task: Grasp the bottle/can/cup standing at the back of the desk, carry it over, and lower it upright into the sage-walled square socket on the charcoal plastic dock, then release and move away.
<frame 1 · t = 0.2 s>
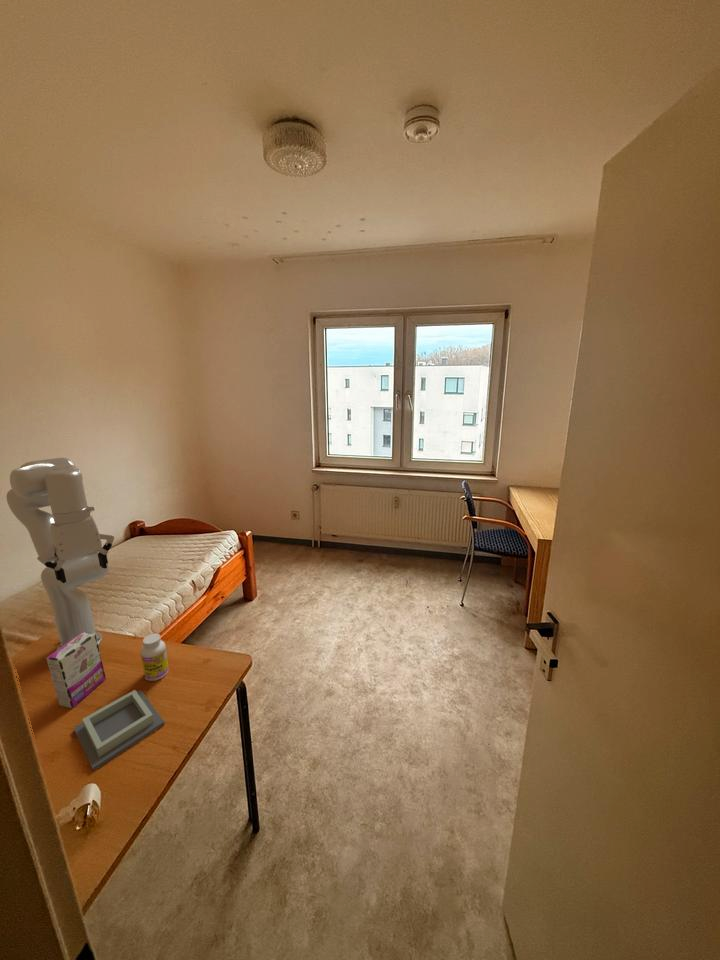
hand: (84, 573, 102), 36 cm above the table, tool pointing down, fingers open, 9 cm apart
dock: (119, 727, 97), on the table
supplement bottle: (157, 674, 115), on the table
candy bar box: (83, 692, 108), on the table
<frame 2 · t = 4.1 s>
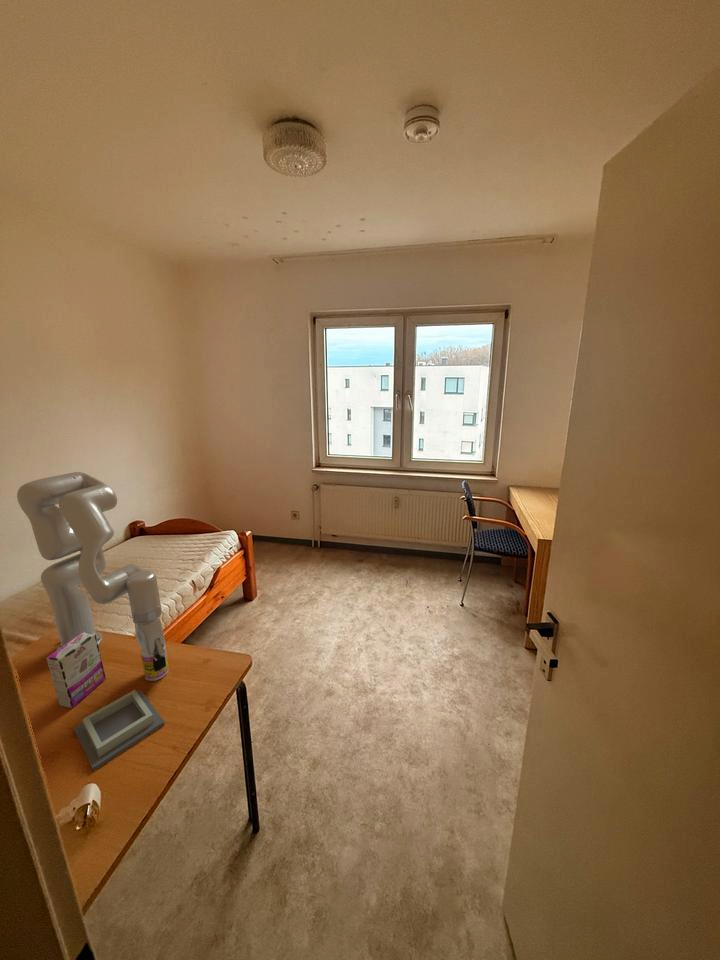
hand: (155, 662, 114), 4 cm above the table, tool pointing down, fingers closed on supplement bottle, 6 cm apart
supplement bottle: (157, 674, 115), on the table, touching gripper
everything else where it was.
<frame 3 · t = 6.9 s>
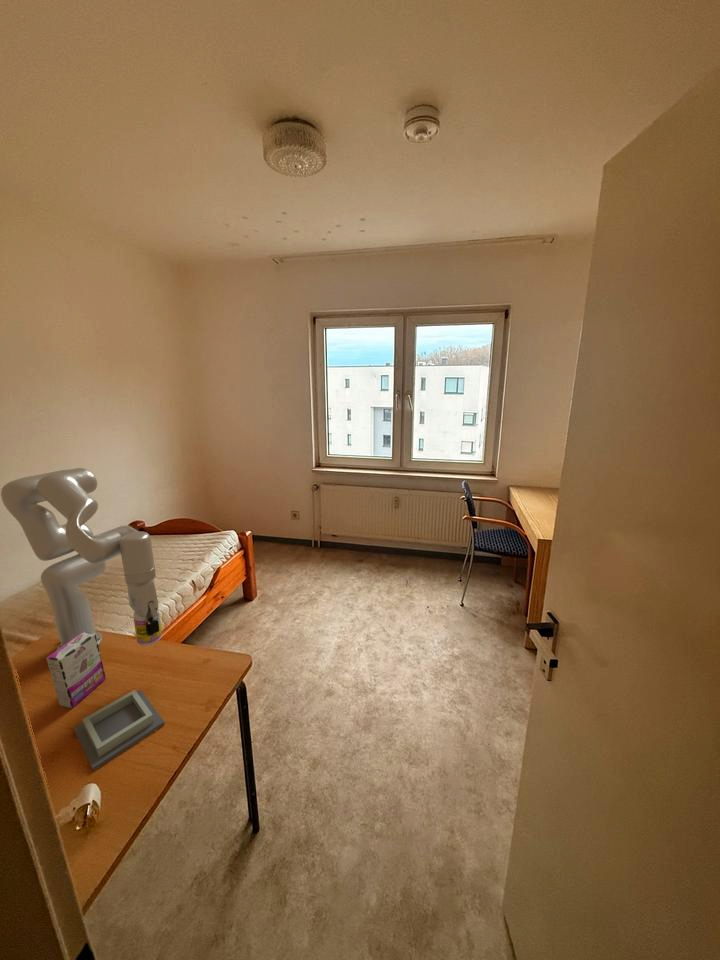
hand: (148, 627, 111), 17 cm above the table, tool pointing down, fingers closed on supplement bottle, 6 cm apart
supplement bottle: (150, 639, 112), point 12 cm above the table, touching gripper
everything else where it was.
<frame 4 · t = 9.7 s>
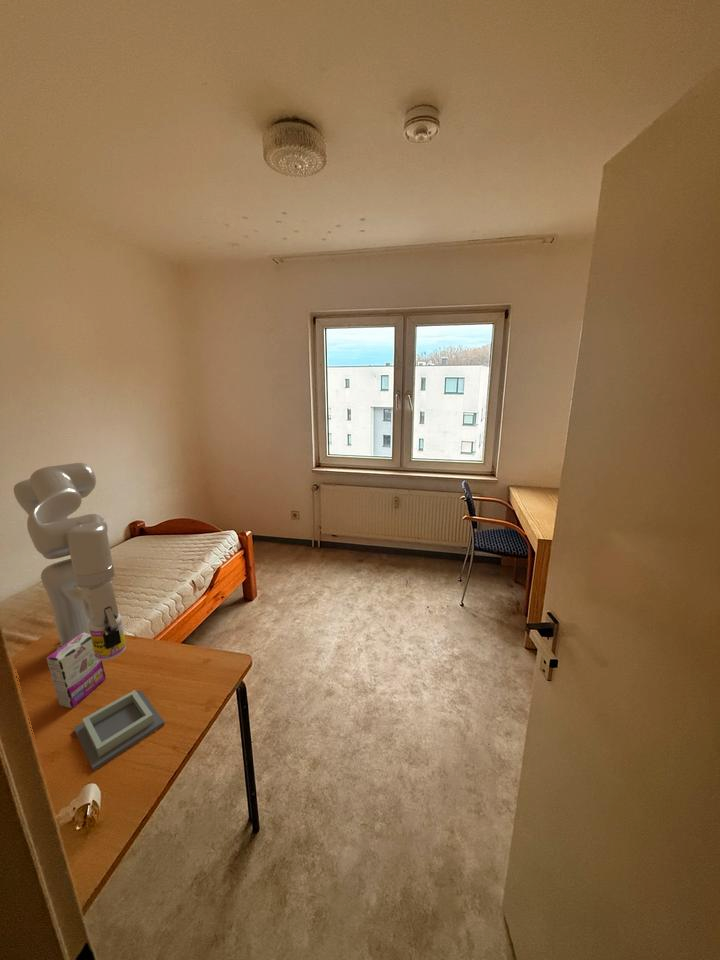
hand: (108, 638, 92), 26 cm above the table, tool pointing down, fingers closed on supplement bottle, 6 cm apart
supplement bottle: (111, 653, 93), point 21 cm above the table, touching gripper
everything else where it was.
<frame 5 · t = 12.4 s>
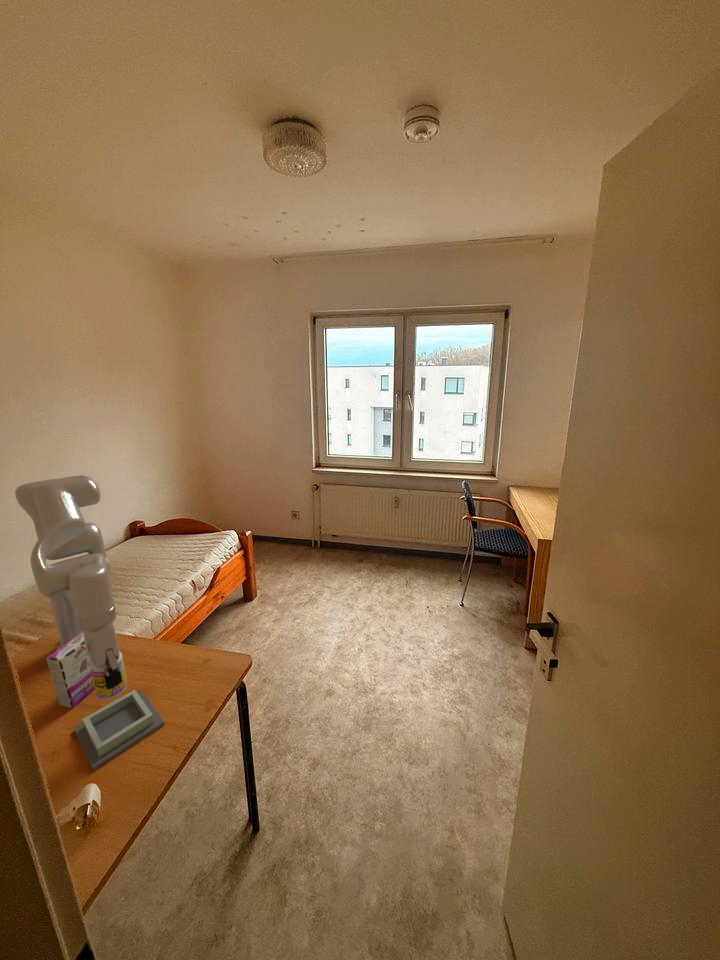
hand: (109, 677, 93), 16 cm above the table, tool pointing down, fingers closed on supplement bottle, 6 cm apart
supplement bottle: (112, 691, 94), point 12 cm above the table, touching gripper
everything else where it was.
when the fingers open (6 cm above the table, at t = 15.1 s): supplement bottle drops 1 cm, resting on dock.
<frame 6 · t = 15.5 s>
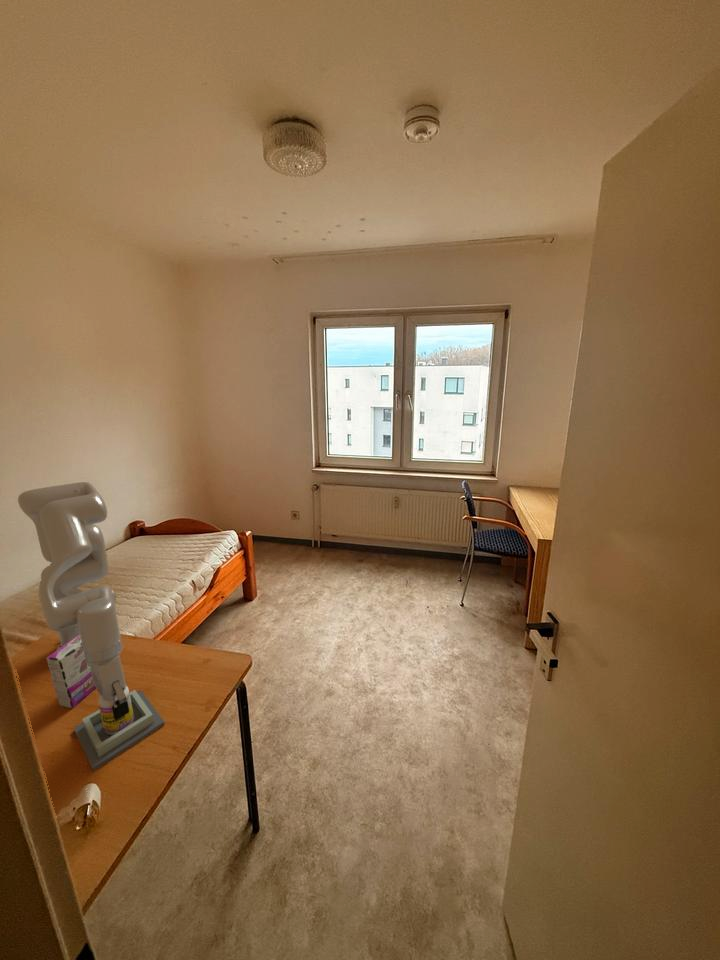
hand: (115, 705, 95), 7 cm above the table, tool pointing down, fingers open, 9 cm apart
supplement bottle: (119, 725, 97), point 1 cm above the table, touching dock
everything else where it was.
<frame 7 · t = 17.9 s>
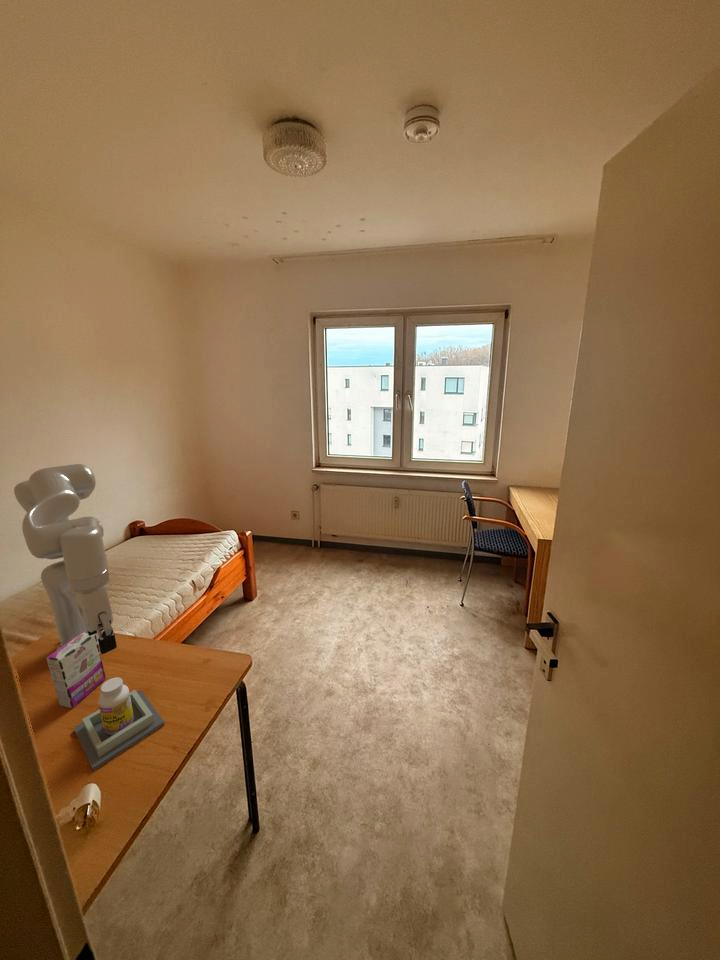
hand: (102, 641, 90), 26 cm above the table, tool pointing down, fingers open, 9 cm apart
nothing on the table moved.
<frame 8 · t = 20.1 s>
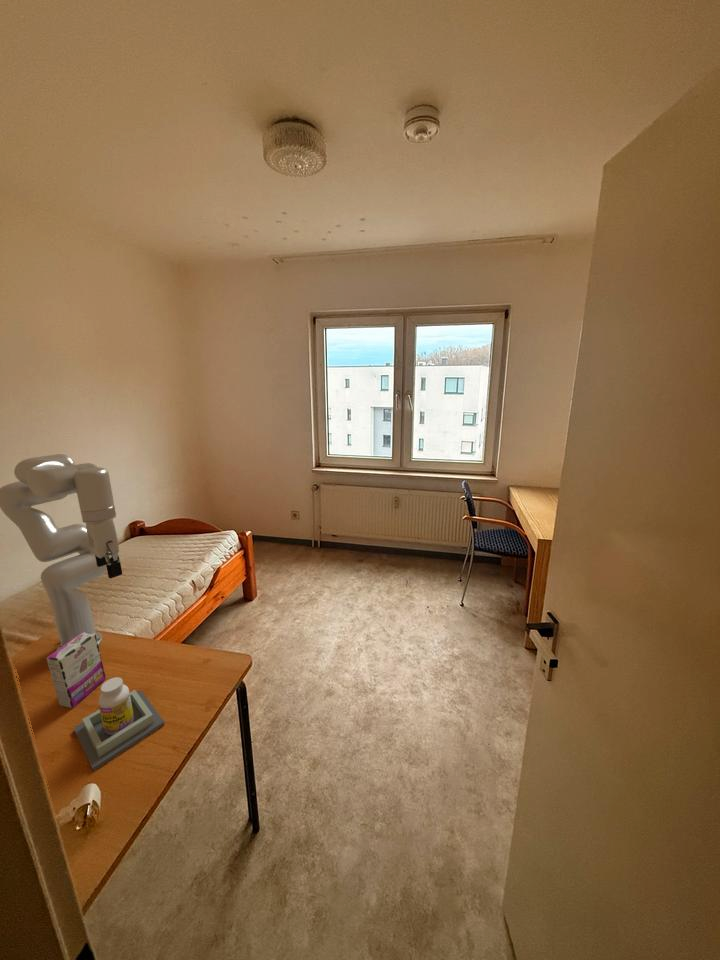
hand: (109, 570, 104), 36 cm above the table, tool pointing down, fingers open, 9 cm apart
nothing on the table moved.
at the end: supplement bottle 0.1 cm off-centre on the dock, point 0.8 cm above the dock's base; supplement bottle tilted 0°; the gripper is holding nothing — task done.
